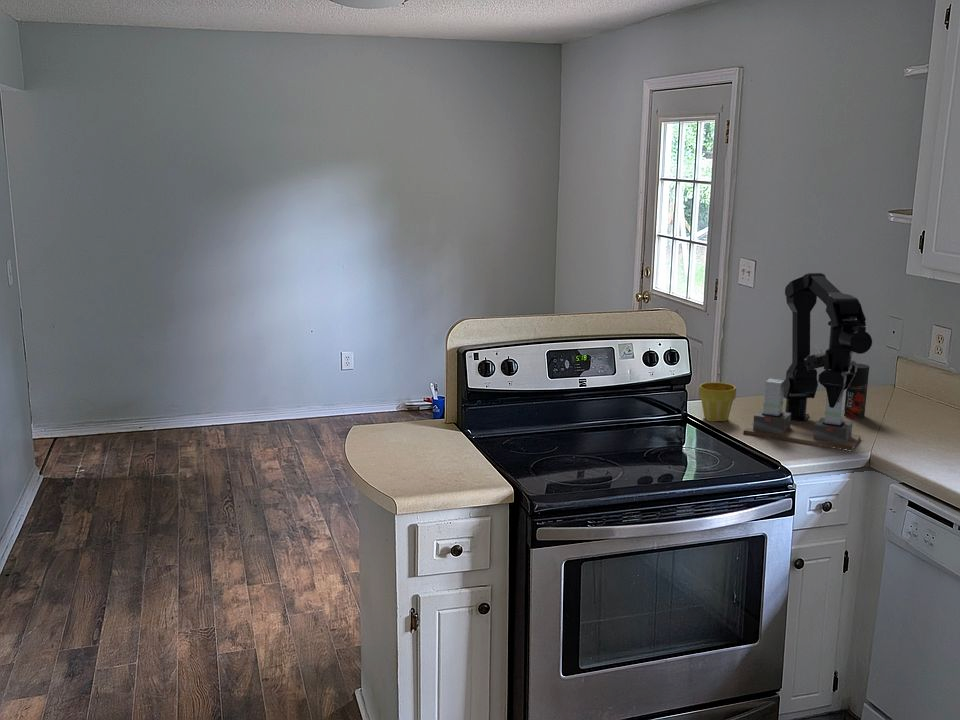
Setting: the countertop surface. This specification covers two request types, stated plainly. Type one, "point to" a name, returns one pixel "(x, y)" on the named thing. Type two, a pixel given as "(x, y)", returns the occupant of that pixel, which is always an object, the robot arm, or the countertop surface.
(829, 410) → the post
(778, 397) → the post
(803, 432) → the double stand
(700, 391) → the plant pot
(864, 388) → the deodorant
